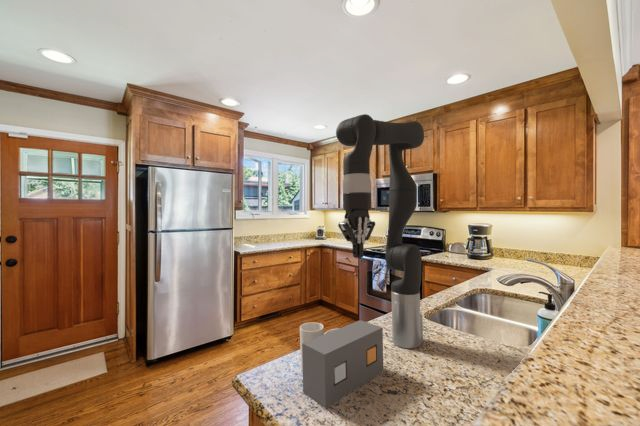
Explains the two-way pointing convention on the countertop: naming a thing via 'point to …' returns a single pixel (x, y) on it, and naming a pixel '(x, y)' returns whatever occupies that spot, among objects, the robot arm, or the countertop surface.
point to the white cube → (339, 372)
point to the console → (340, 361)
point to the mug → (309, 334)
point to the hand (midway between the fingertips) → (358, 257)
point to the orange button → (370, 355)
